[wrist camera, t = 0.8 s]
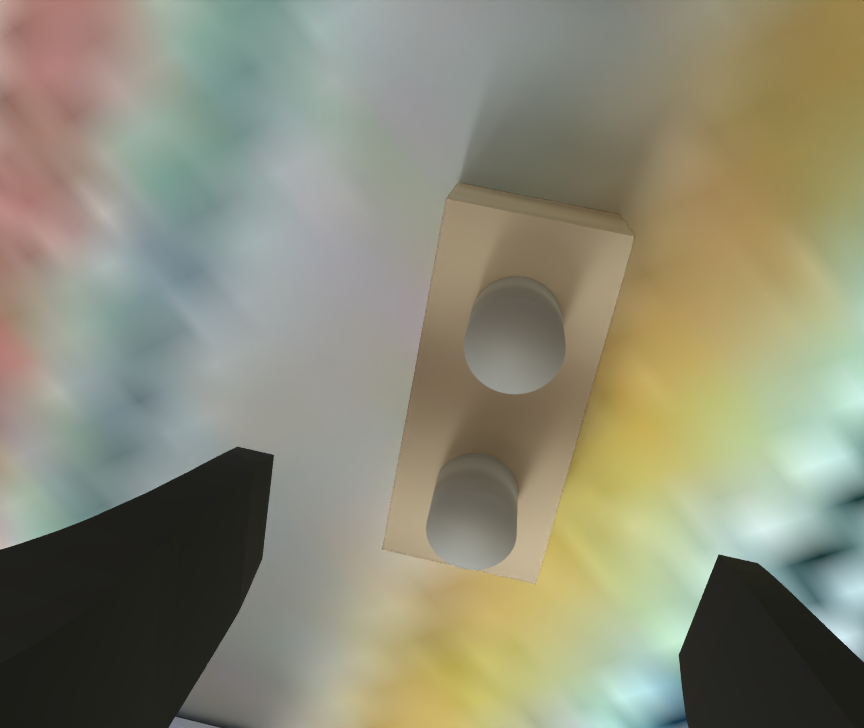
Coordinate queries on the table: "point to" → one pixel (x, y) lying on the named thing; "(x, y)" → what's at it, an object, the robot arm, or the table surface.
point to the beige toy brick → (503, 377)
